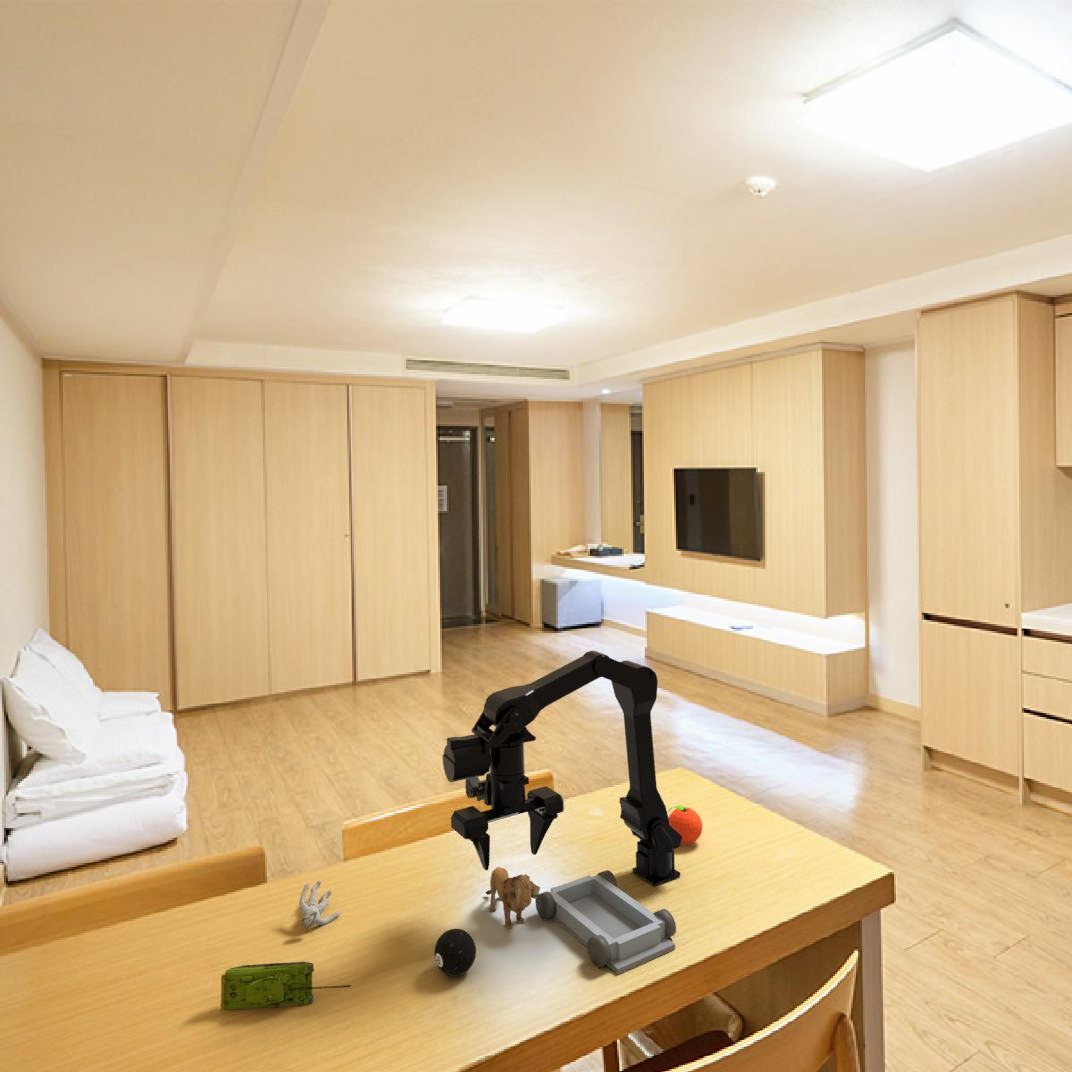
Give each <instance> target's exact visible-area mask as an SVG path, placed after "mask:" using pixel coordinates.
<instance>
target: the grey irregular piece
mask: <svg viewBox="0 0 1072 1072" xmlns="http://www.w3.org/2000/svg"><path fill="white" fill-rule="evenodd" d="M321 884H322V881H321V880H318V881H316V883H315V884H314V885H313V886H312V887H310V885H311V882H306V883H305V884H304V887H303V889H302V891H301V895H300V898H299V903H298V904H299V906H300V908H299V909H300V911H301V913H302V915H303V916H304V917H302V918H299V919H298V921H299V922H300V923H303V925H305V926H306V928H307V929H308V930H309V931H310V930H311V928H312V927H313V925H316V926H324V925H327V924H330V923H331V922H332V921H334V920H335V919H337V918H338V917H339V916H341V914H342V911H340V910H337V911H336V912H335V913H334V914H333V915H330V916H328V917H326V918H325V917H324V918H322V917H321V915H322V913H323V912H324V910H325V908H326V907H327V906H328V905H329V902H330V901H329V899H328V898H329V897H330V896H331V895H332V890H331V889H329V890H327V891H326V893H324V894H323V895H322V896H320V900H321V902H320V903H318V902H317V901H318V900H317V898H318V891H317V890H318V888H320V887H321ZM310 888H311V889H310ZM309 889H310V893H309V898H308V901H307V903H306V896H307V891H308V890H309Z"/></svg>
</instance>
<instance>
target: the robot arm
mask: <svg viewBox="0 0 1072 1072" xmlns="http://www.w3.org/2000/svg"><path fill="white" fill-rule="evenodd" d="M599 678H604V679H607V680H608V681H611V685H612V689H613V693H614V697H615V699H616V700H617V703H618V704H619V707H620V709H621V711H622V713H623V721H624V722H623V723H624V724H623V725H624V733H625V744H626V745H625V746H626V756H627V757H626V758H627V770H628V779H629V781H628V782H629V789H628V792H627V793H626V796H621V797H619V801H618V802H619V805H620V816H619V818H620V819H621V820H623V822H624V824H625V826H626V827H627V828H628V829H630V831H631V833H632V835H633V836H634V837H636V838H637V839H639V841H637V843H636V848H637V849H636V850H637V851H635V867H633V868H632V873H634V874H636V875H637V876H638V877H639V878H641V879H642V880H645V882H647V883H649V884H650V885H652V886H658V885H661V884H663V883H666V882H669V881H671V880H673V879H676V878H678V877H681V872H680V871H679V870H677V869H675V868H676V867H675V865H676V863H675V849H679V848H680V846H681V840H682V836H681V835H680V834H679V833H678V832H677V831H676V830H674V829H673V828H672V827H671V826H670V825H669V815H668V814H669V813H668V811H667V807H666V803H665V802H664V800H663V799H662V796H661V794H660V793H659V791H658V787H657V775H656V773H657V772H656V765H655V763H656V762H655V752H654V749H655V748H654V741H653V727H652V717H651V716H652V714H651V713H652V710H653V707H654V706H655V704H656V701H657V695H658V681H659V680H658V676H657V674H656V672H655V671H654V670H653V669H652V668H651V667H648V666H645V665H643V664H640V663H636V662H634V661H630V660H622V661H618V660H616V659H613V658H612V657H610V656H608V655H607V654H605V653H603V652H599V651H596V650H589V651H586V652H585V653H584V654H583V655H582V656H580V657H578V658H576V659H575V660H572V661H570V662H568V663H566V664H565V665H563V666H561V667H559V668H557V669H555V670H553V671H551V672H549V673H548V674H546V675H545V674H544V676H542V677H540V678H538V679H536V680H533V681H532V682H530V683H527V684H524V685H516V686H511V687H506V688H504V689H501V690H497V691H495V692H492V693H491V694H490V695H488V696H487V697H486V698H485V702H484V704H483V711H482V712H481V714H480V716H479V717H478V718H477V720H476V722H475V724H474V725H473V727H472V729H471V733H472V734H469V735H464V736H450V737H447V739H446V745H445V747H444V750H443V754H442V764H443V765H442V766H443V771H444V775H445V777H446V779H447V780H448V782H449V783H454V782H458V781H464V780H465V795H466V796H467V798H468V799H474V798H476V801H477V802H480V801H483V803H484V804H483V805H486V806H487V807H488V806H490V808H491V809H486V810H484V811H480V810H479V809H478V808H477V807H475V806H474V805H471V806H468V807H463V808H460V809H456V810H454V811H453V812H452V815H451V816H450V827H451V829H453V830H454V831H455V832H456V833H457V834H459V835H460V836H461V838H463V839H464V840H469V841H471V843H472V844H473V846H474V848H475V851H476V853H477V855H478V858H479V861H480V863H481V866H482V868H483V869H484V870H485V871H489V868H490V854H491V853H490V852H491V848H490V847H491V835H490V834H489V833H487V832H488V830H489V823H493V822H496V821H499V820H504V819H507V818H511V817H514V816H518V815H521V814H525V813H527V814H528V818H529V836H530V838H529V839H530V841H529V844H530V845H529V846H530V852H531V854H532V855H534V856H535V855H537V854H538V852H539V849H540V848H541V845H542V843H543V841H544V838H545V836H546V834H547V832H548V831H549V829H550V827H551V826H552V824H553V822H554V820H555V819H557V818H558V815H559V814H561V813H563V812H564V811H565V802H564V801H565V800H564V798H563V796H562V795H561V794H560V793H559V792H557V791H555V790H553V789H551V788H550V787H548V786H546V785H545V786H542V787H538V788H535V789H531V790H529V791H528V792H527V794H526V785H528V784H530V778H529V777H528V776H526V773H525V770H526V769H525V750H524V749H525V743H530V742H535V741H536V739H537V737H536V736H535V735H534V734H532V733H531V732H530V731H529V729H528V728H527V726H528V725H530V724H531V723H533V721H535V719H536V718H537V717H538V716H539V714H540V712H541V711H543V710H544V709H546V707H548V706H549V705H552V704H553V703H555V702H557V701H559V700H561V699H563V698H564V697H567V696H568V695H570V694H572V693H573V692H575V691H577V690H579V689H581V688H582V687H585V686H587V685H588V684H590V683H592V682H593V681H596V680H598V679H599ZM492 726H494V727H495V728H494V730H492V729H491V727H492ZM483 776H485V779H483V780H480V778H479V777H483ZM526 796H527V797H526ZM526 798H527V799H526Z"/></svg>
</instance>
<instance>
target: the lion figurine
mask: <svg viewBox="0 0 1072 1072" xmlns="http://www.w3.org/2000/svg"><path fill="white" fill-rule="evenodd" d="M490 875H491V876H490V883H489V884H490V885H489V887H490V889H489V890H487V891H485V895H488V896H489V895H490V906H489V909H488V911H490V912H495V911H496V910H497V907H496V895H498V898H499V900H500V901H501V902H502V904H503V905H502V907H503V908H502V909H503V914H504V915H503V916H504V929H505V930H506V931H507V930H508V931H509V930H512V929H513V921H512V920H511V912H514V913H516V914H515V921H516V922H517V923H518V924H524V923H525V921H526V920H525V918H524V917H523V916H522V913H523V911H525V909H526V908H528V907H529V906H530V905H531V904H532V900H533V899H534V900H536V898H537V895H538V894H540V890H541V887H540V886H538V885H536V884H534V882H533V881H532V880H531V879H530V876H529V875H528V874H520V875H519V874H518V875H516V876H513V877H509V872H508V870H507V869H506V868H504V867H500V866H496V867H495V869H494V870H492V872H491V874H490Z"/></svg>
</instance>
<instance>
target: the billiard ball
mask: <svg viewBox="0 0 1072 1072" xmlns="http://www.w3.org/2000/svg"><path fill="white" fill-rule="evenodd" d="M476 947H477V946H476V944H475V941H474V938H473V936H472V935H471V934H470V933H469V932H468V931H466V930H465V929H461V928H450V929H448V930H446V931H445V932H443V933H442V934H441V935H440V936H439V938H438V939H437V941H436V943H435V945H434V952H433V954H434V961H435V963H436V965H437V967H438V969H439V970H440V971H441V973H443V974H445V975H448V976H451V977H452V976H454V977H456V976H461V975H464V973H467V971H468V970H470V968H471V967H472V966H473V964H474V962H475V959H476V955H477V948H476Z"/></svg>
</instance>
